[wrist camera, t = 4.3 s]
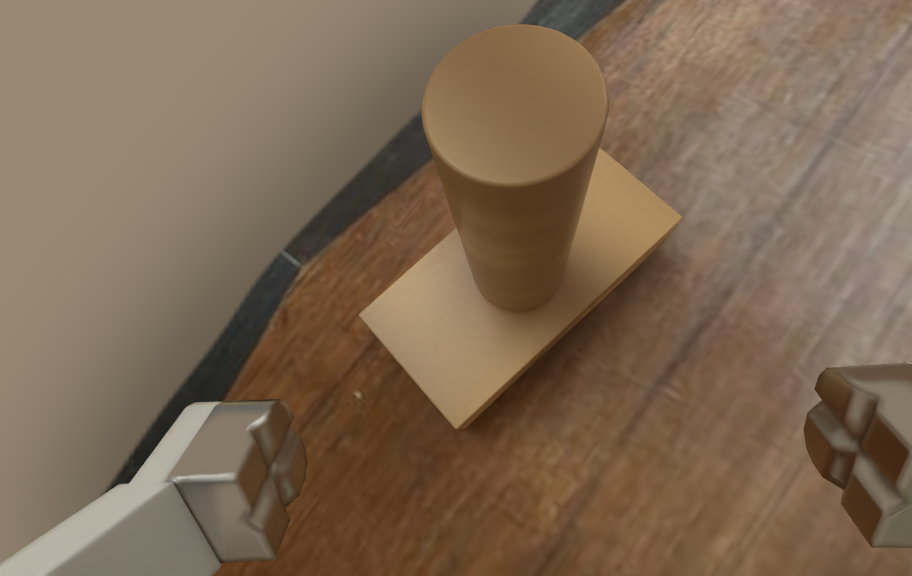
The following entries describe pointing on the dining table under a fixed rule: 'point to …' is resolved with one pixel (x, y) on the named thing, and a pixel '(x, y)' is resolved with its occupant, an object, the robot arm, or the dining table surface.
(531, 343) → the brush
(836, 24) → the dining table surface
